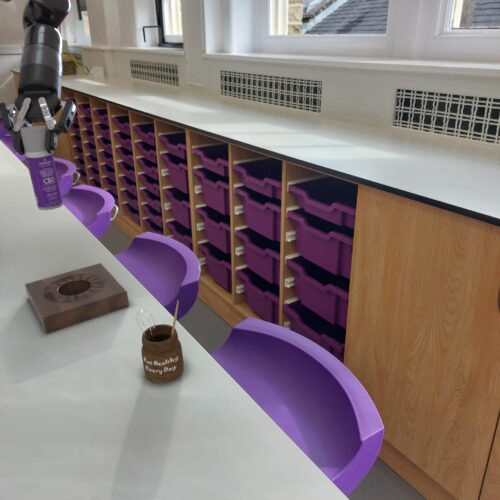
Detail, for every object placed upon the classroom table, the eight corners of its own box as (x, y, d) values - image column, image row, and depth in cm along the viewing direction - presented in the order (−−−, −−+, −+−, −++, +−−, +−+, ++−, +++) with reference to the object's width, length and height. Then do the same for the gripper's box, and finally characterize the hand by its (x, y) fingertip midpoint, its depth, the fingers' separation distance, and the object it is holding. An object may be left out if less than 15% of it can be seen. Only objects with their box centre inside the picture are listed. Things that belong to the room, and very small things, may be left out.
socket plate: (46, 335, 84) (42, 317, 83) (28, 299, 95) (24, 284, 94) (129, 307, 91) (126, 291, 90) (103, 277, 103) (100, 262, 101)
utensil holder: (147, 361, 76) (136, 295, 71) (187, 358, 77) (179, 291, 72) (142, 386, 71) (130, 316, 66) (185, 383, 71) (177, 313, 66)
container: (52, 211, 92) (34, 131, 85) (32, 209, 93) (13, 130, 87) (68, 202, 96) (52, 125, 89) (49, 201, 97) (32, 125, 91)
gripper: (-6, 63, 90) (-16, 142, 84) (72, 59, 91) (68, 138, 85) (11, 89, 97) (3, 164, 91) (84, 86, 98) (80, 160, 92)
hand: (34, 151), depth 88 cm, fingers closed on container, 4 cm apart
